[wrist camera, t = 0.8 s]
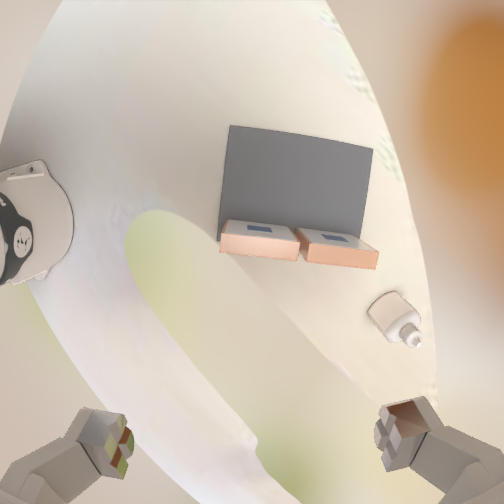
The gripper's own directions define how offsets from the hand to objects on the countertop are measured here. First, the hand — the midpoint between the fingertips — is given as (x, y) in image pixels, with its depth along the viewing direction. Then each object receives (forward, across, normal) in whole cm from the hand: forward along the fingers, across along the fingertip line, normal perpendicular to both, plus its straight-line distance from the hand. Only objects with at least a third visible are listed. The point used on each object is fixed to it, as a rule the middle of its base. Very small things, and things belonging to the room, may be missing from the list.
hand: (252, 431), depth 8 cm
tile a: (+33, -1, +1) cm, 33 cm away
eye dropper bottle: (+34, -20, +13) cm, 41 cm away
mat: (+34, -6, -4) cm, 34 cm away
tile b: (+33, -10, +2) cm, 35 cm away
